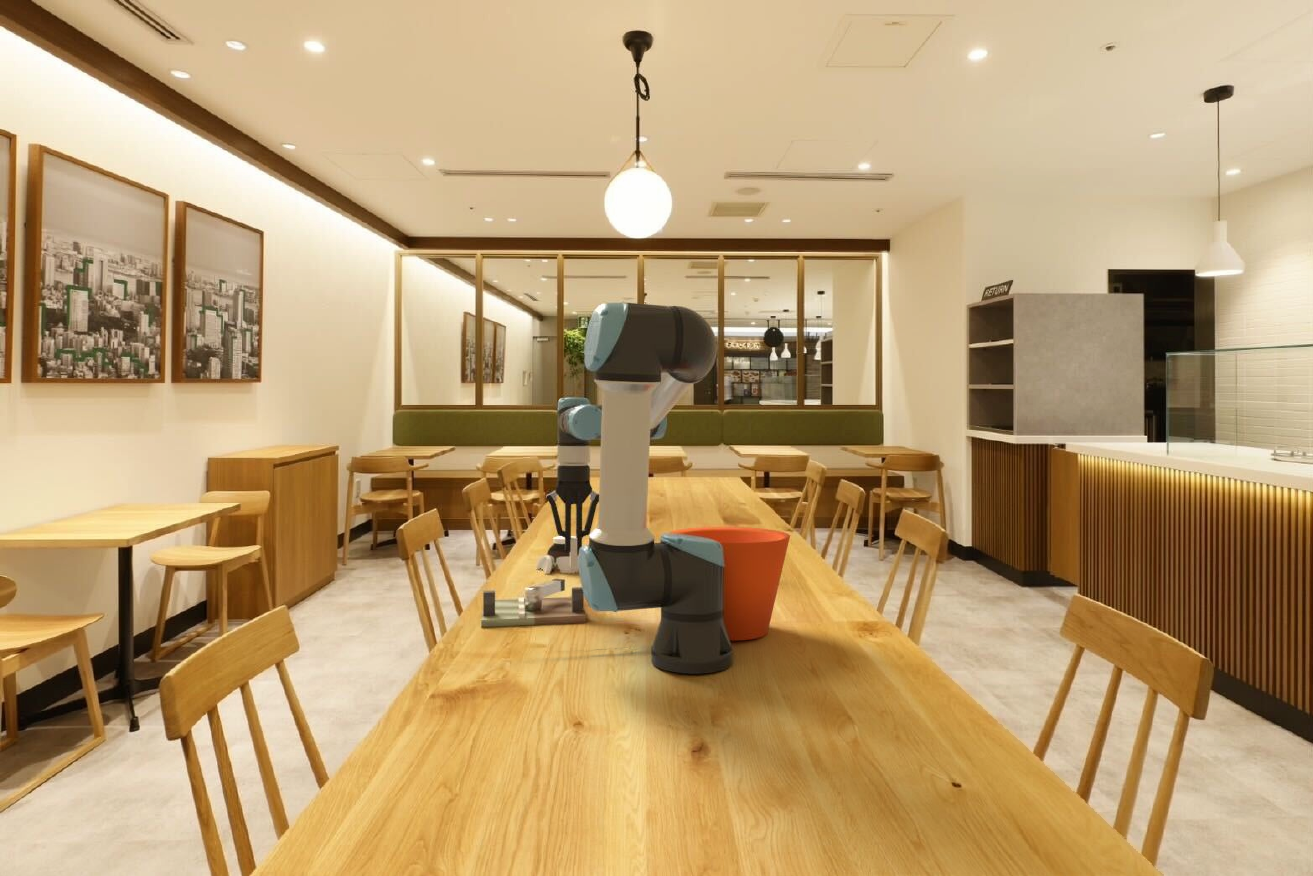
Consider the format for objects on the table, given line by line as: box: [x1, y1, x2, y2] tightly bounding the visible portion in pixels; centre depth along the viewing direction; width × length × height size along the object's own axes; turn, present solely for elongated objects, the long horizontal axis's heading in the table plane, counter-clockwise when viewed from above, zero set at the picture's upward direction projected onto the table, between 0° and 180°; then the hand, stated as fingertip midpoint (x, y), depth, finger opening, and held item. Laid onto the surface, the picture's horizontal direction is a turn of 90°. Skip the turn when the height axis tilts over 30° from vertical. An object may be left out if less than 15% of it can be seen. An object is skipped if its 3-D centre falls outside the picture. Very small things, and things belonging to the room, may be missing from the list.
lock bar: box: [524, 578, 566, 611], centre depth 169 cm, size 13×4×5 cm, turn 155°
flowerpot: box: [668, 526, 791, 641], centre depth 154 cm, size 25×25×20 cm
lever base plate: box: [480, 586, 587, 628], centre depth 167 cm, size 19×22×6 cm
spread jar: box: [535, 535, 579, 575], centre depth 208 cm, size 12×11×12 cm
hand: (573, 565), depth 173 cm, fingers closed
